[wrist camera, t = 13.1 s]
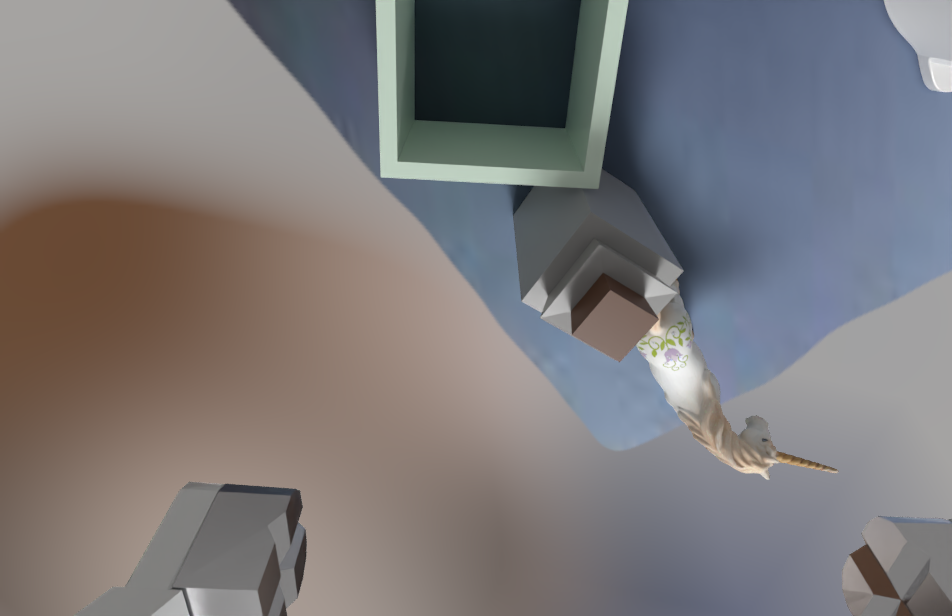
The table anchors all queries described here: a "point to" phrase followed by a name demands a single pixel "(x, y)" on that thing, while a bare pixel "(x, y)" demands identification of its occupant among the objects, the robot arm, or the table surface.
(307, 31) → the table surface
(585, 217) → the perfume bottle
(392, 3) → the mint green open box
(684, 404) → the unicorn figurine
